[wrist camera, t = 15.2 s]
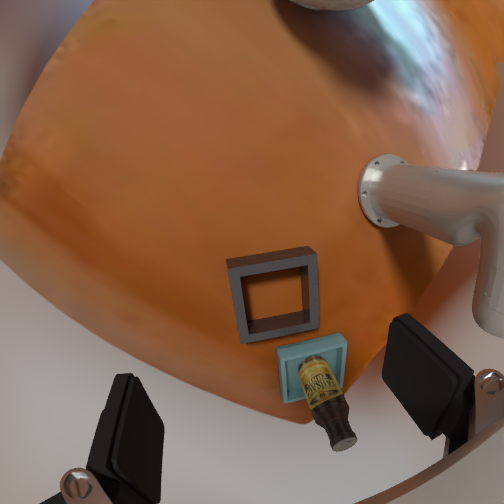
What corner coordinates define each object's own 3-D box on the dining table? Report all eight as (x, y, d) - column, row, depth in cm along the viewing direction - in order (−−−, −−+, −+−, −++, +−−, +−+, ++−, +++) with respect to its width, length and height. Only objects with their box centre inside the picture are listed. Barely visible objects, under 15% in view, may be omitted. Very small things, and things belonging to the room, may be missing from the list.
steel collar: (308, 245, 44) (317, 253, 40) (311, 316, 48) (318, 327, 44) (225, 259, 43) (227, 268, 39) (238, 330, 47) (240, 343, 43)
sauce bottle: (320, 348, 50) (364, 425, 31) (329, 367, 52) (370, 440, 33) (289, 364, 50) (322, 446, 31) (300, 382, 52) (333, 459, 33)
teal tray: (339, 332, 50) (347, 342, 47) (336, 377, 54) (342, 388, 51) (275, 347, 49) (280, 358, 46) (280, 392, 53) (284, 403, 50)
